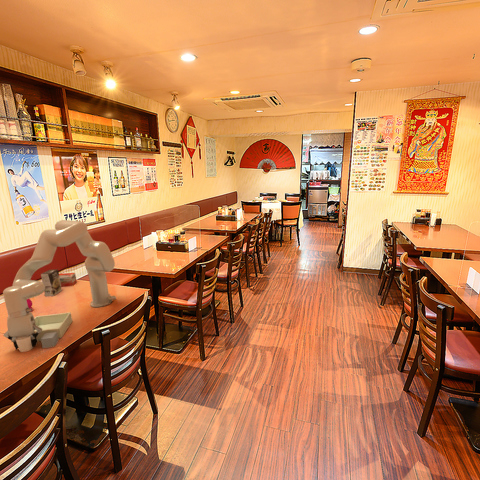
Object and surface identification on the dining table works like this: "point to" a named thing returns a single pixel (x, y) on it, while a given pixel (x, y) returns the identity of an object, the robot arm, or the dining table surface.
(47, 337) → the cube
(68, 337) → the dining table surface
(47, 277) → the coffee box
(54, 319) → the tote
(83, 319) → the dining table surface
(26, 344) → the shot glass
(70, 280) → the medicine box
